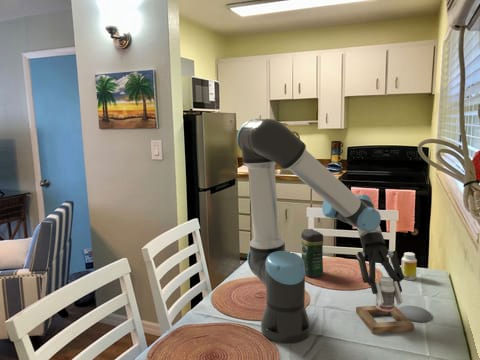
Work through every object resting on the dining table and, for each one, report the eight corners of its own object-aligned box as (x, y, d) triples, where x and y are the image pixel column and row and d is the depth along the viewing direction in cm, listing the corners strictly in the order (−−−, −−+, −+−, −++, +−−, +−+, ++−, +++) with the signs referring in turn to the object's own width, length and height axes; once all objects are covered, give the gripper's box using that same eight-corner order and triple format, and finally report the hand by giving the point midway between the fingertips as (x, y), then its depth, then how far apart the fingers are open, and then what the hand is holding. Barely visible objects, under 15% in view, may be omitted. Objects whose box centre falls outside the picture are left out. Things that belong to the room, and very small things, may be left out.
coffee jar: (326, 276, 159) (326, 232, 156) (308, 278, 157) (309, 234, 154) (314, 267, 168) (315, 226, 165) (298, 270, 166) (298, 228, 163)
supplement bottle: (418, 279, 154) (420, 255, 152) (406, 281, 153) (407, 256, 151) (409, 274, 159) (411, 250, 158) (397, 276, 158) (399, 252, 156)
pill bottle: (397, 309, 122) (399, 279, 120) (386, 313, 119) (388, 283, 117) (382, 302, 126) (384, 274, 125) (372, 306, 123) (373, 277, 122)
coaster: (407, 323, 122) (407, 321, 122) (392, 307, 132) (392, 306, 132) (437, 320, 123) (437, 319, 123) (420, 306, 132) (420, 304, 132)
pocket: (372, 333, 116) (372, 327, 116) (355, 312, 129) (356, 306, 129) (413, 330, 117) (414, 324, 117) (393, 310, 130) (393, 304, 130)
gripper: (392, 240, 136) (414, 306, 122) (341, 242, 134) (358, 308, 121) (401, 230, 130) (424, 298, 116) (348, 231, 128) (365, 300, 115)
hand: (390, 303), depth 119 cm, fingers closed on pill bottle, 5 cm apart
